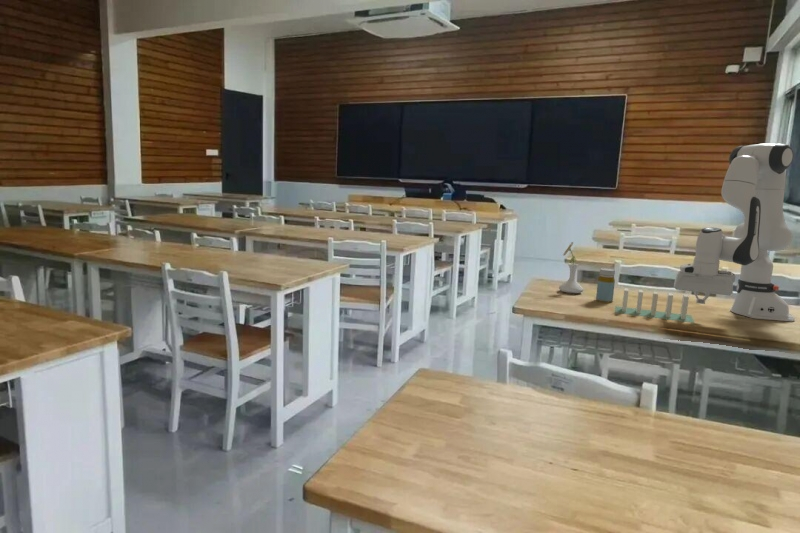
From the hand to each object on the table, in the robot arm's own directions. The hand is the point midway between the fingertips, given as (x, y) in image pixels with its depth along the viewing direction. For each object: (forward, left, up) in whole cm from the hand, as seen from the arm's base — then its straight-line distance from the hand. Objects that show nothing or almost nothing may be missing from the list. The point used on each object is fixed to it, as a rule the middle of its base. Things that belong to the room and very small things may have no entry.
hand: (700, 303), depth 210 cm
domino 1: (+22, 0, -7) cm, 23 cm away
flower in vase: (+52, -26, -8) cm, 59 cm away
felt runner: (+16, 0, -7) cm, 18 cm away
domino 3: (+11, 0, -7) cm, 13 cm away
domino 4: (+5, 0, -7) cm, 9 cm away
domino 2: (+16, 0, -7) cm, 18 cm away
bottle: (+36, -14, -8) cm, 39 cm away
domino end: (+27, 0, -7) cm, 28 cm away
